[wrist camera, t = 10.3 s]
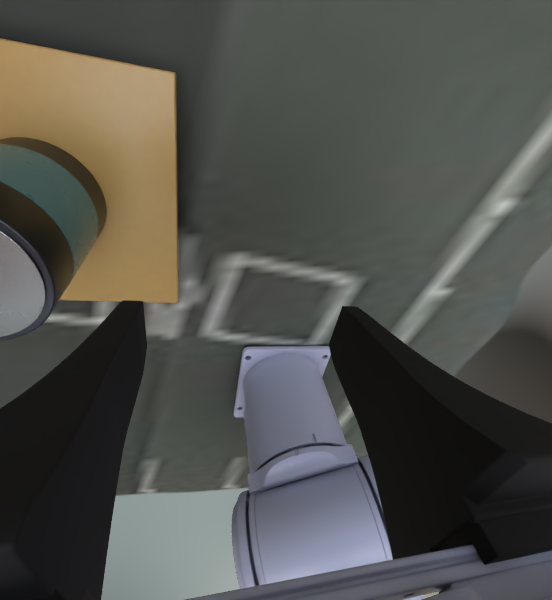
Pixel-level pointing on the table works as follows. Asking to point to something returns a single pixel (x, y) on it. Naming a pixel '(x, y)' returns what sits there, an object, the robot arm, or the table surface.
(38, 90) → the platform
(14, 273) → the can
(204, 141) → the table surface
